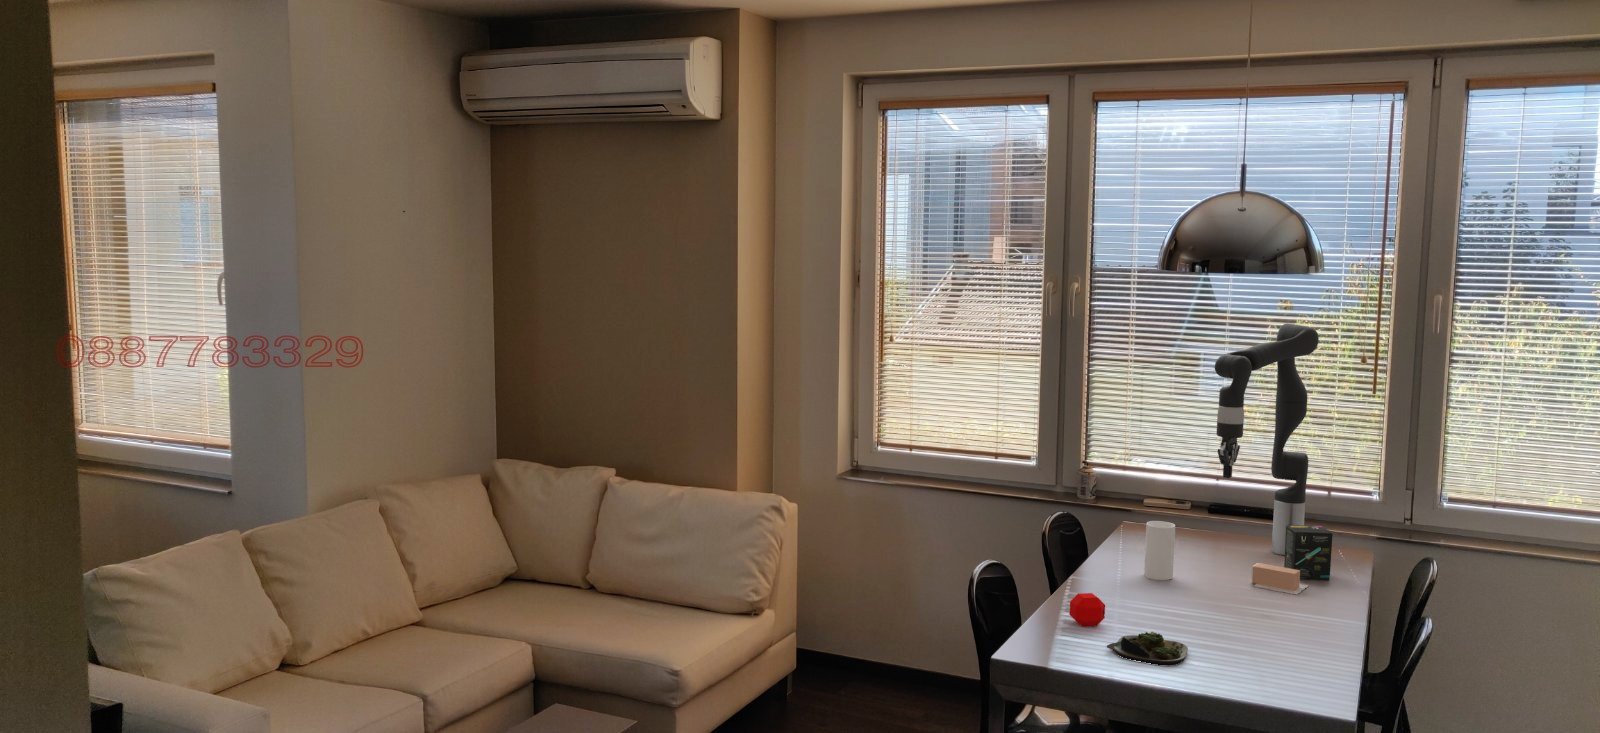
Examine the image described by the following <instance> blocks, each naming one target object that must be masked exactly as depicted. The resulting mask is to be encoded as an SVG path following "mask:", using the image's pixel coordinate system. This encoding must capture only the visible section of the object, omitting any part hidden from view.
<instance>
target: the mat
mask: <svg viewBox="0 0 1600 733" xmlns="http://www.w3.org/2000/svg"><path fill="white" fill-rule="evenodd" d="M1253 587H1254V588H1258V589H1259V588H1260V589H1264V590H1270V591H1275V592H1280V593H1284V592H1285V594H1289V593H1290V594H1291V595H1294V594H1296V595H1295V596H1297V595H1298V593H1299V594H1300V593H1302V592H1303V591H1305V590H1306V589H1307V588H1309V585H1307V584H1302V583H1299V588H1297V589H1296V590H1294V591H1292V590H1286V589H1281V588H1276V587H1271V586H1266V585H1261V584H1255V583H1254V585H1253ZM1305 588H1306V589H1305ZM1302 590H1303V591H1302ZM1301 591H1302V592H1301Z"/></svg>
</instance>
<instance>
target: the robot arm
mask: <svg viewBox="0 0 1600 733" xmlns="http://www.w3.org/2000/svg"><path fill="white" fill-rule="evenodd" d="M1319 338H1320V337H1319V332H1317V330H1316V329H1314V328H1313V327H1310V326H1307V325H1301V324H1295V323H1287V322H1286V323H1284V324H1282V325H1281V326H1280V327H1279V329H1278V332H1277V334H1276V341H1269V342H1263V343H1257V344H1256V345H1253V346H1250V347H1247V348H1246V349H1243V350H1237V351H1232V352H1227V353H1224V354H1222V355H1220V356H1219V357H1218V358H1217V359H1216V360H1215V362H1214V363H1215V364H1214V371H1215V373H1216V374H1217V375H1218V376H1219V377H1220V378H1225V379H1232V382H1231V384H1230V385H1227V386H1222V387H1221V388H1219V395H1218V396H1219V397H1218V409H1217V414H1216V415H1217V419H1216V436H1218V437H1220V438H1221V442H1220V446H1219V447H1220V448H1217V454H1218V459H1219V463H1220V464H1221V465H1222V466H1223V467H1222V468H1223V470H1222V477H1223V478H1225V479H1231V478H1232V477H1233V466H1234V464H1235V463H1236V462H1237V458H1238V455H1239V452H1240V448H1241V445H1240V444H1239V445H1238V439H1241V438H1243V436H1244V424H1245V422H1244V421H1245V410H1244V409H1245V408H1244V407H1245V392H1246V390H1247V387H1248V383H1249V381H1250V378H1251V376H1252V372H1254V371H1257V370H1260V369H1262V368H1265V367H1267V366H1269V365H1271V364H1275V363H1276V364H1277V365H1276V368H1277V369H1276V370H1277V377H1276V380H1277V381H1276V396H1275V414H1274V415H1275V417H1274V419H1275V422H1274V424H1275V425H1274V438H1273V448H1272V449H1273V450H1272V458H1271V466H1270V469H1271V475H1272V477H1273V479H1276V480H1285V481H1295V483H1294V484H1293V485H1290V486H1288V487H1285V488H1280V489H1276V491H1275V492H1274V502H1273V521H1272V522H1273V523H1272V536H1271V537H1272V538H1271V552H1272V553H1274V554H1276V555H1281V556H1285V538H1286V525H1297V526H1305V516H1306V514H1305V511H1306V492H1307V490H1306V489H1307V479H1308V472H1309V457H1308V454H1307V453H1305V452H1299V451H1285V450H1284V448H1285V446H1286V444H1287V441H1288V440H1289V439H1290V436H1291V435H1292V434H1293V432H1295V430H1296V429H1297V428H1298V427H1299V426H1300V424H1301V423H1302V422H1303V421H1304V419H1305V417H1306V415H1307V412H1308V411H1307V410H1308V391H1307V389H1306V386H1305V384H1304V382H1303V380H1302V378H1301V377H1300V374H1299V372H1298V370H1297V367H1296V360H1295V359H1296V358H1297V357H1303V356H1308V355H1311V354H1312V353H1313V352H1315V350H1316V349H1317V347H1318V345H1319V341H1320V340H1319Z"/></svg>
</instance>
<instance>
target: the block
mask: <svg viewBox="0 0 1600 733" xmlns="http://www.w3.org/2000/svg"><path fill="white" fill-rule="evenodd" d="M1250 580H1251V584H1254V585H1255V584H1261V585H1266V586H1271V587H1276V588H1281V589H1286V590H1292V591H1294V590H1296V589H1297V588H1299V584H1300V582H1301V579H1300V570H1295V569H1290V568H1284V566H1283V567H1282V566H1278V565H1271V564H1267V563H1261V562H1257V563H1255V564H1253V565H1252V567H1251V579H1250Z"/></svg>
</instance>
